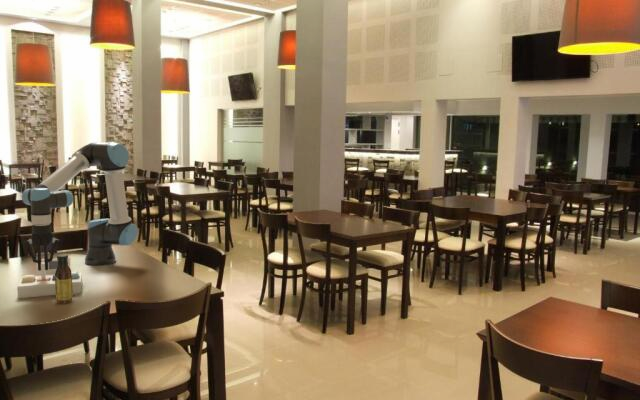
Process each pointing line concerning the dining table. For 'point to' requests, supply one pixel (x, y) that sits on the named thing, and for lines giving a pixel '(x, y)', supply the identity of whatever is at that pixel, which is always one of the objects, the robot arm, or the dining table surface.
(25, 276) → the key
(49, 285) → the keypad
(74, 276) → the key
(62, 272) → the sauce bottle
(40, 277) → the key
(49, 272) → the placard
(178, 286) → the dining table surface
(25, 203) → the robot arm
